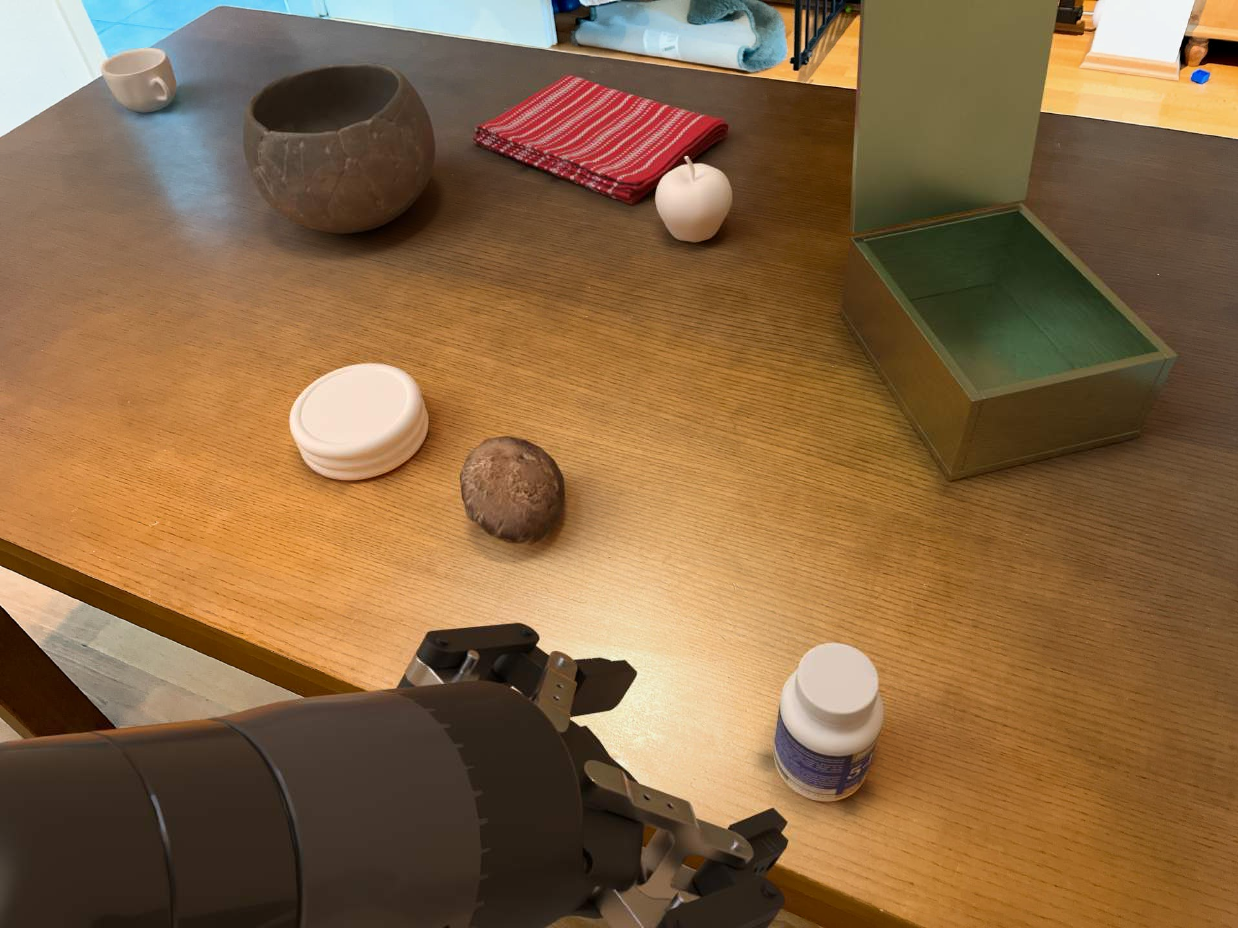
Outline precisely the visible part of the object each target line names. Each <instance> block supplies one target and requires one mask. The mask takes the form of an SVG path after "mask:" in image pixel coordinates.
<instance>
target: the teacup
mask: <svg viewBox="0 0 1238 928" xmlns="http://www.w3.org/2000/svg"><path fill="white" fill-rule="evenodd" d="M100 71H101V74H102V78H103V79H104V81H105V82H106V84H107V86H108V88H109V89H110V91H111V93H112V94H113V97H114V98H116V100H117V101H118V102H119V103H120V104H121V105H123V106H124V107H125V108H127V109H129V110H130V111H134V112H137V113H153V112H157V111H160V110H163V109H164V108H166V107H168V106H169V105H170V104H171V102H172V101H173V100H174V98H175V97H176V94H177V79H176V76H175V73H174V70H173V67H172V63H171V61H170V59H169V57H168V55H167V53H166V52H165V51H164V50H163V49H161V48H156V47H139V48H132V49H128V50H124V51H121V52H119V53H115V54H114V55H112V56H110V57H108V58H107V59H105V60H104V61H103V62H102V64H101V66H100Z"/></svg>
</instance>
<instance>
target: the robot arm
mask: <svg viewBox="0 0 1238 928" xmlns="http://www.w3.org/2000/svg"><path fill="white" fill-rule="evenodd" d="M424 635H425V636H424V637H423V639H422V641H421V643H420V644H419V647H418V648H417V649H416V650H415V653H414V654H413V656H412V658H411V659H410V661H409V663H408V665H407V667H406V669H405V671H404V673H403V675H402V677H401V678H400V681H399V682H398V684H397V686H396V687H395V688H386V689H375V690H368V691H358V692H348V693H338V694H337V693H336V694H328V695H327V694H326V695H315V696H308V697H300V698H295V699H287V700H280V701H276V702H272V703H267V704H263V705H259V706H255V707H252V708H249V709H244V710H241V711H237V712H233V713H230V714H224V715H220V716H214V717H208V718H202V719H192V720H182V721H173V722H165V723H157V724H147V725H137V726H129V727H120V728H113V729H112V728H111V729H102V730H93V731H87V732H76V733H74V732H73V733H65V734H56V735H55V734H54V735H47V736H38V737H37V736H36V737H29V738H23V739H16V740H8V741H2V742H0V928H547V927H549V926H551V925H553V924H554V923H557V922H558V921H559V920H561V919H563V918H566V917H580V918H585V919H589V920H599V919H604V920H605V922H606V923H607V925H608V926H609V927H610V928H769V926H770V925H771V924H772V922H773V921H774V920H775V919H776V917H777V916H778V914H779V913H780V912H781V910H782V909H783V908H784V906H785V904H786V898H785V896H784V894H783V891H781V889H780V887H778V885H776V884H775V883H774V882H773V881H772V880H770V879H769V878H767V876H768V875H769V873H770V872H771V870H772V869H773V867H774V866H775V864H776V863H777V862H778V861H779V859H780V858H781V856H782V855H783V853H784V852H785V851H786V849H787V848H788V844H789V839H788V838H787V837H786V836H785V835H784V834H783V831H784V830H785V829H786V827H787V825H788V821H787V820H786V818H784V816H783V815H781V813H779V811H777V809H775V808H774V807H771V808H768V809H766V810H763V811H760V812H759V813H756V814H754V815H751V816H749V817H746V818H744V819H741V820H738V821H736V822H733V823H731V824H729V826H728V827H727V828H725V827H722V826H719V825H716V824H714V823H711V822H708V821H705V820H703V819H700V818H698V817H697V816H696V813H695V810H694V806H693V805H692V803H691V802H690V801H688V800H686V799H684V798H680V797H678V796H675V795H673V794H669V793H667V792H664V791H661V790H658V789H655V788H653V787H650V786H647V785H644V784H642V783H639V781H638V780H637V779H636V778H635V777H634V776H633V775H632V774H631V772H630V771H628V770H627V769H626V768H624V767H623V766H622V764H620V763H619V762H617V761H616V759H614V758H613V757H612V756H611V755H610V754H609V753H608V750H607V749H606V747H605V746H604V745H603V743H602V742H601V740H600V739H599V738H598V736H597V735H595V733H594V732H593V731H592V730H591V728H589V727H588V725H581V726H580V725H579V724H578V723H577V722H575V721H574V720H572V719H571V718H575V717H581V716H588V715H593V714H599V713H605V712H611V711H612V710H614V709H616V708H617V707H618V706H619V705H620V704H621V702H622V700H623V699H624V697H625V696H626V694H627V693H628V691H629V690H630V688H631V687H632V685H633V683H634V681H635V680H636V678H637V676H638V670H636V669H635V668H634V667H633V666H632V665H631V664H630V663H629V662H628V661H627V660H626V659H618V660H611V659H609V658H604V657H599V656H598V657H590V658H589V657H588V658H578V659H577V658H576V659H574V658H572V657H571V656H570V655H568V654H566V653H565V652H563V651H559V650H552V651H551V652H550V653H549V654H548V653H547V652H545V651H544V650H543V649H541V648H540V647H539V646H537V645H538V643H539V642H540V639H541V637H540V635H539V633H538V632H537V631H536V630H535V629H534V628H533V627H531V626H529V625H527V624H525V623H521V622H509V623H501V624H490V625H489V624H488V625H479V626H467V627H457V628H456V627H455V628H448V629H445V628H444V629H438V630H437V629H435V630H429V631H427V632H426V634H424ZM646 825H649V826H651V827H654V828H657V830H656V831H655V833H654V834H653V835H652V837H651V838H650V840H649V841H648V843H647V844H646V846H645V847H644V849H643V843H644V834H645V827H646ZM693 855H695V856H696V855H697V856H700V857H704V859H703V861H702V862H701V864H700V865H699V867H697V869H696V870H694V869H691V868H689V867H686V866H682V865H683V864H684V863H685V861H686V860H687V859H688V858H689V857H691V856H693Z"/></svg>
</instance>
